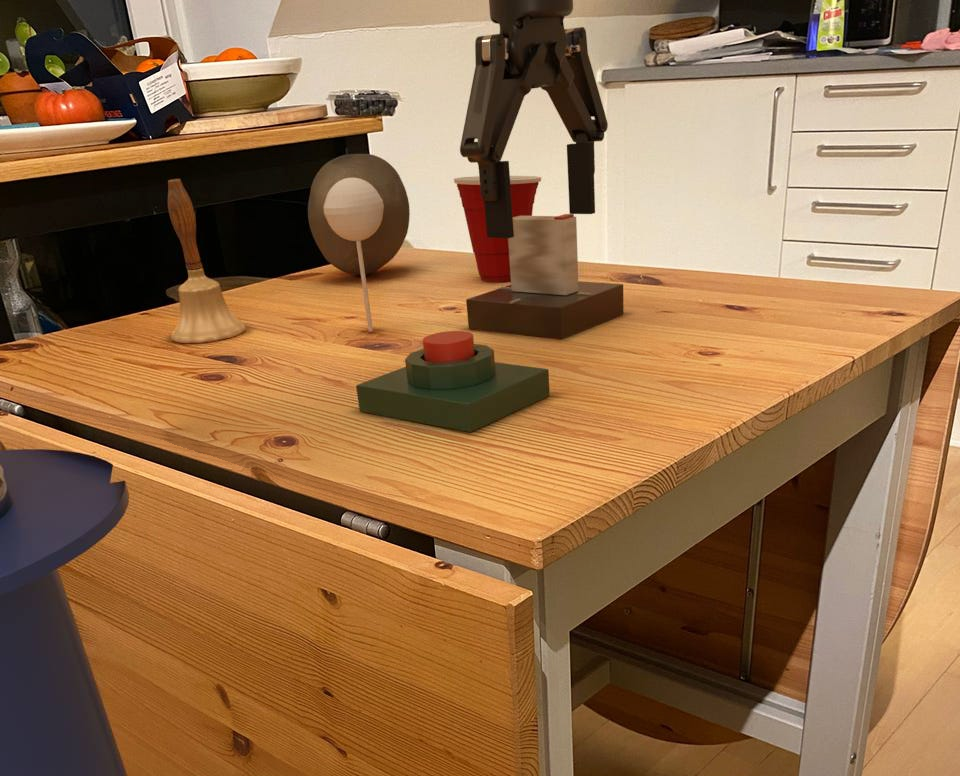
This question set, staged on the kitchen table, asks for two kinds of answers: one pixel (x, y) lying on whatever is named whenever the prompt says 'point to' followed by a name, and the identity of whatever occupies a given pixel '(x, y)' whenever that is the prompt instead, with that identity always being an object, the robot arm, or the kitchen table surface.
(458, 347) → the bell button
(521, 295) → the plate
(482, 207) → the plastic cup
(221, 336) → the hand bell
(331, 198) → the lollipop
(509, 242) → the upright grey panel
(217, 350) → the kitchen table surface
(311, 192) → the brown ovoid
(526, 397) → the button box
